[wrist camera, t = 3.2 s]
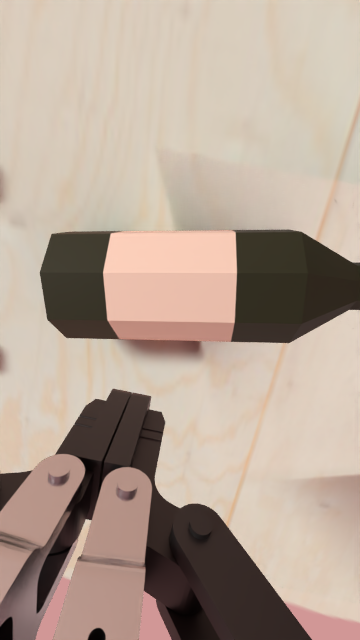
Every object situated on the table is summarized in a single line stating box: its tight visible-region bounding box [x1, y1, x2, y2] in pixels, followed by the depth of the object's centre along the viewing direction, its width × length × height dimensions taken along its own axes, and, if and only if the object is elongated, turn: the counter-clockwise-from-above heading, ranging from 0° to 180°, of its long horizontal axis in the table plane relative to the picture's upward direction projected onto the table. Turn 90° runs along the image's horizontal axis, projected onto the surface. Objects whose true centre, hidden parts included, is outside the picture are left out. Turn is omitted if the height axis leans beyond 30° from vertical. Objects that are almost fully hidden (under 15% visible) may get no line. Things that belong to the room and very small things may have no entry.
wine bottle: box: [40, 230, 360, 343], centre depth 22 cm, size 8×8×30 cm
